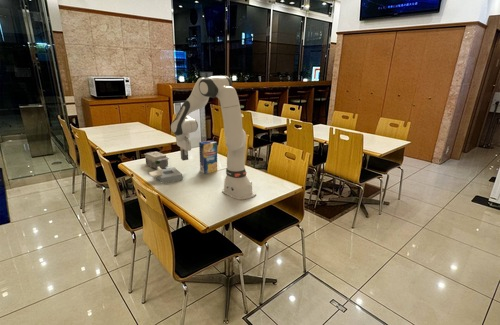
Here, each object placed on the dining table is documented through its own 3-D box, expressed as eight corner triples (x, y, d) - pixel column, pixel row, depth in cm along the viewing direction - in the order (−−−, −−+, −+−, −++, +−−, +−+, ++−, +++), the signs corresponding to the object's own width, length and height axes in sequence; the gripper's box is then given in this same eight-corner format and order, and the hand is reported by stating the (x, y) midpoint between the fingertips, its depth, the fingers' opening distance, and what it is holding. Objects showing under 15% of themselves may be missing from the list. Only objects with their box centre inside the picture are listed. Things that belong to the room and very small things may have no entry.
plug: (188, 159, 202) (187, 147, 200) (183, 160, 200) (182, 148, 198) (186, 158, 206) (185, 146, 203) (181, 159, 204) (180, 147, 201)
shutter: (162, 174, 186) (162, 169, 185) (151, 176, 182) (151, 171, 181) (159, 171, 192) (159, 166, 190) (148, 173, 188) (148, 168, 187)
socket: (182, 179, 190) (182, 174, 189) (162, 183, 183) (161, 177, 182) (174, 172, 203) (174, 167, 202) (155, 175, 195) (154, 170, 194)
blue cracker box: (217, 170, 209) (217, 142, 202) (204, 173, 202) (203, 144, 195) (212, 168, 214) (212, 140, 207) (199, 170, 208) (199, 142, 201)
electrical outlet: (157, 172, 200) (156, 159, 198) (142, 164, 221) (141, 152, 218) (172, 169, 208) (171, 156, 205) (156, 161, 229) (155, 150, 226)
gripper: (192, 137, 191) (194, 156, 195) (182, 132, 207) (183, 150, 211) (184, 138, 187) (185, 158, 192) (174, 133, 204) (175, 151, 208)
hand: (184, 153), depth 202 cm, fingers closed on plug, 4 cm apart
